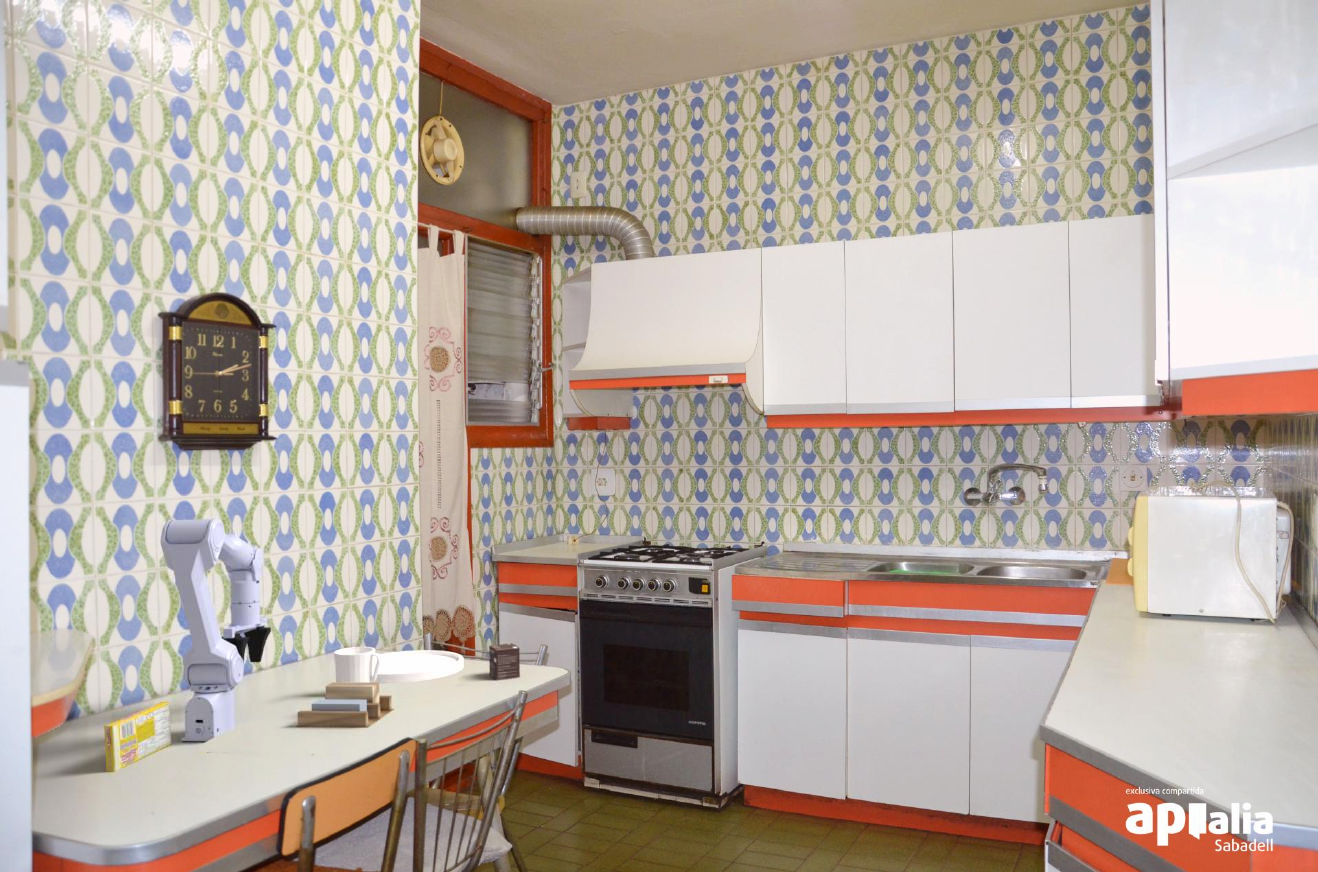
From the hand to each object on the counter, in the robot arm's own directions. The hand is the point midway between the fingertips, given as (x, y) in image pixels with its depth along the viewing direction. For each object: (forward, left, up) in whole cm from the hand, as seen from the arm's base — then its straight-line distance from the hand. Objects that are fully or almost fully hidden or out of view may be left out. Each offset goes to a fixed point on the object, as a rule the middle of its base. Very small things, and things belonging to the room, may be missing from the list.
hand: (246, 665), depth 216 cm
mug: (+14, -19, -10) cm, 26 cm away
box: (+34, -47, -10) cm, 59 cm away
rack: (-7, -25, -10) cm, 28 cm away
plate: (+41, -20, -10) cm, 47 cm away
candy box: (-31, +4, -10) cm, 33 cm away
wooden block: (-4, -25, -9) cm, 27 cm away
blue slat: (-10, -25, -9) cm, 28 cm away
